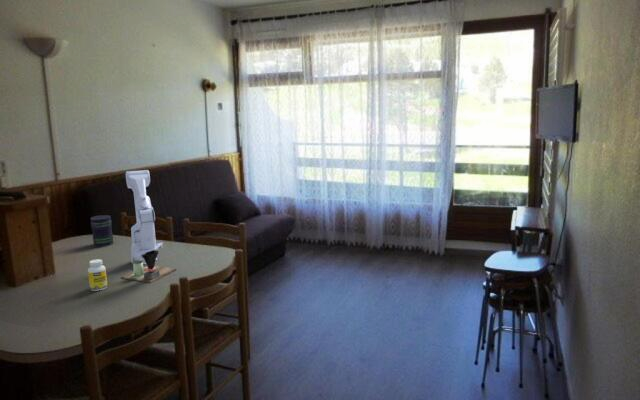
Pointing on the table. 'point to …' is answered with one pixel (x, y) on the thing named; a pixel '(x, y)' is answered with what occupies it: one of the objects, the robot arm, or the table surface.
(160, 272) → the board
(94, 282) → the pill bottle
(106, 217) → the storage jar
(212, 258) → the table surface
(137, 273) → the pale green jar
